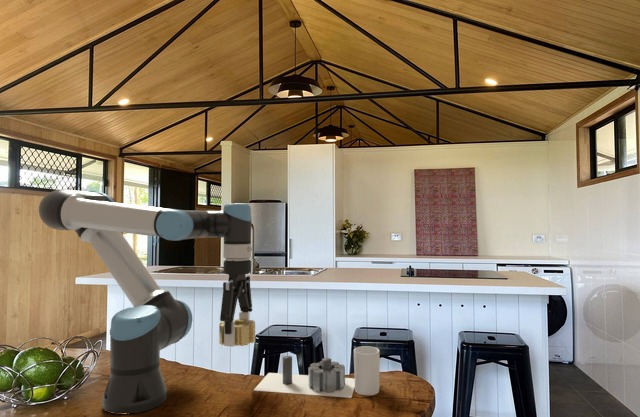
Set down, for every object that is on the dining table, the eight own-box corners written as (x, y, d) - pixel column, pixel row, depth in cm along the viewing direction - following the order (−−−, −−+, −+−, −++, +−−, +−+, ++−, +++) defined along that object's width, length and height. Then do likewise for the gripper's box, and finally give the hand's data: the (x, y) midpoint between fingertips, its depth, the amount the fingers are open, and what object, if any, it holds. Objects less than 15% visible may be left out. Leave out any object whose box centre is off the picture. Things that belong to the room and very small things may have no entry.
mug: (378, 402, 109) (378, 354, 109) (352, 400, 110) (351, 353, 111) (382, 387, 119) (381, 343, 119) (358, 385, 120) (357, 342, 120)
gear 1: (213, 345, 115) (213, 326, 115) (228, 335, 125) (228, 318, 125) (247, 347, 113) (247, 328, 113) (260, 337, 123) (259, 319, 123)
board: (253, 395, 114) (253, 363, 114) (268, 377, 126) (268, 348, 126) (351, 403, 108) (351, 369, 109) (357, 384, 121) (356, 353, 121)
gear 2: (312, 394, 111) (312, 374, 111) (306, 380, 120) (306, 362, 120) (348, 391, 112) (348, 371, 113) (339, 377, 122) (339, 359, 122)
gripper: (234, 263, 108) (233, 353, 107) (263, 255, 130) (263, 330, 129) (206, 263, 109) (205, 351, 109) (239, 255, 131) (239, 329, 131)
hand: (237, 340), depth 119 cm, fingers closed on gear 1, 10 cm apart
